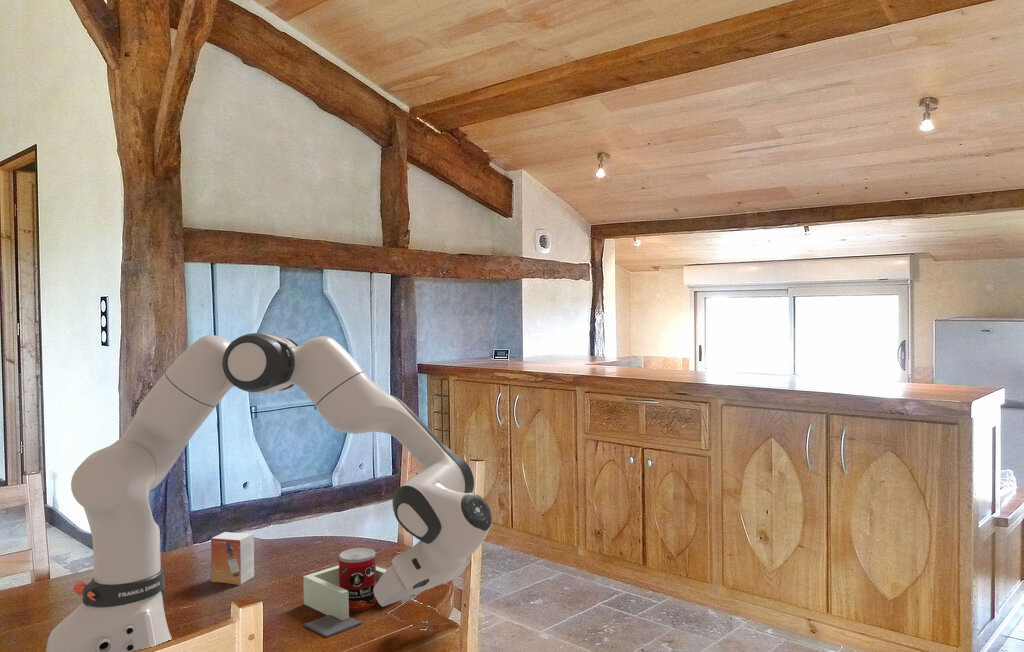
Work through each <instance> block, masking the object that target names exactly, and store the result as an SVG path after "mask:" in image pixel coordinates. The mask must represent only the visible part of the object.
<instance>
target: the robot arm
mask: <svg viewBox="0 0 1024 652" xmlns="http://www.w3.org/2000/svg"><path fill="white" fill-rule="evenodd" d="M294 386H296V387H298V388H299V389H300V390H302V391H303V393H305V395H307V397H308V399H309V400H310V401H311V402H312V404H313V405H314V407H315V408H316V409H317V411H318V413H319V414H320V415H321V416H322V417H323V419H324V421H326V422H327V424H329V425H330V427H332V429H335V430H337V431H339V432H342V433H346V434H354V435H355V434H356V435H357V434H365V433H382V434H387V435H390V436H392V438H393V437H394V439H396V440H397V441H398V442H399V443H400V444H401V445H402V446H403V447H404V448H405V449H406V450H407V451H408V452H409V453H410V455H411V456H412V457H413V458H415V460H417V462H418V463H419V464H420V465H421V467H422V469H421V470H420V471H418V472H417V473H416V474H415V475H413V476H412V477H410V478H409V479H408V480H406V481H405V482H404V483H403V484H401V486H400V487H398V488H397V489H396V490H395V492H394V493H393V496H392V497H393V498H392V511H393V515H394V516H395V518H396V521H397V522H398V524H399V525H400V526H401V528H403V530H404V531H406V532H407V533H409V535H410V536H411V535H412V536H413V537H414V538H416V539H417V540H419V541H418V542H417V543H415V544H414V545H412V547H410V548H407V549H406V550H404V551H402V552H401V553H399V554H397V555H395V556H394V557H393V558H392V560H391V563H392V565H391V566H390V567H389V568H387V569H385V570H386V572H385V573H384V574H383V575H382V577H381V578H380V579H379V581H378V582H377V584H376V585H375V587H374V589H373V592H374V595H375V597H376V601H377V603H378V604H379V605H380V606H381V607H386V606H388V605H392V603H393V604H395V603H398V602H399V601H401V603H406V602H408V601H411V600H413V599H415V598H416V597H417V596H418V595H420V594H421V593H422V592H424V591H427V590H429V589H432V588H435V587H437V586H440V585H444V584H447V583H449V582H450V581H452V580H455V579H457V578H458V577H460V576H461V575H462V573H463V572H464V571H465V570H466V568H467V566H468V565H469V563H470V561H471V560H470V558H469V557H472V555H473V554H474V553H475V552H476V551H477V549H478V548H479V547H480V546H481V544H482V543H483V542H484V540H485V539H486V538H487V536H488V533H489V531H490V530H491V526H492V522H493V519H492V517H493V515H492V511H491V508H490V506H489V503H487V501H486V500H485V499H484V498H483V497H482V496H481V495H479V494H477V493H475V492H474V487H475V480H474V479H475V478H474V473H473V471H472V468H471V467H470V465H469V464H468V463H467V461H466V460H465V459H464V458H462V457H461V456H460V455H458V454H457V453H456V452H454V451H453V450H452V449H450V448H449V447H448V446H447V445H445V444H444V443H443V442H442V440H440V438H438V436H437V435H436V434H435V433H434V432H433V431H432V430H431V429H430V428H429V427H428V426H427V425H426V424H425V423H424V422H423V421H422V419H420V418H419V416H418V415H417V414H416V413H415V412H414V411H413V410H412V409H411V408H410V407H409V406H408V405H406V404H405V402H403V401H402V400H401V399H400V398H398V397H397V396H395V395H392V394H389V393H388V392H386V391H384V390H383V389H382V388H381V387H379V386H378V385H377V384H376V383H375V382H374V381H373V380H372V379H371V378H370V377H369V376H368V374H367V373H366V372H365V370H364V369H363V368H362V366H361V365H360V364H359V363H358V362H357V361H356V359H355V358H354V357H353V356H352V355H351V354H350V353H349V352H348V350H346V349H345V348H344V347H343V346H342V345H341V344H340V343H339V342H338V341H337V340H335V338H332V337H330V336H326V335H321V336H320V335H319V336H316V337H313V338H309V339H308V340H307V341H305V342H303V343H301V344H300V345H298V343H297V342H295V341H294V340H293V339H290V338H287V337H284V336H281V335H277V334H274V333H259V332H257V333H256V332H255V333H254V332H253V333H247V334H244V335H240V336H238V337H237V338H235V339H234V340H232V342H231V341H230V340H228V339H227V338H225V337H222V336H219V335H214V334H213V335H212V334H206V335H204V336H201V337H199V338H198V339H197V340H196V341H194V342H192V344H191V345H189V347H187V348H186V349H185V350H184V351H183V352H182V353H181V354H180V355H179V356H178V357H177V358H176V359H175V360H174V361H173V363H171V365H170V366H169V367H168V368H167V369H166V371H165V372H164V373H163V374H162V376H161V377H160V378H159V379H158V381H157V382H156V383H155V384H154V386H152V388H151V389H150V391H149V392H148V393H147V395H145V397H144V398H143V399H142V400H141V401H140V403H139V404H138V407H137V411H136V413H135V415H134V417H133V418H132V420H131V423H130V424H129V426H128V427H127V429H126V430H125V432H124V433H123V434H122V436H121V437H119V438H118V439H117V440H116V441H115V442H113V443H112V444H110V445H108V446H106V447H103V448H101V449H99V450H97V451H96V450H95V451H94V452H93V453H91V454H90V455H88V456H87V457H86V458H85V459H83V461H82V462H81V463H80V464H79V466H78V467H77V468H76V469H75V471H74V472H73V474H72V477H71V481H70V488H71V494H72V495H73V497H74V500H75V501H76V502H77V503H78V504H79V505H80V506H81V507H83V510H84V512H85V516H86V519H87V522H88V526H89V528H90V532H91V533H90V534H91V540H92V555H93V556H92V557H93V578H92V579H91V580H90V582H89V583H87V584H86V583H85V582H83V581H77V582H75V584H74V585H73V588H72V589H73V592H74V593H76V594H77V595H79V596H81V597H82V603H81V604H80V605H78V606H77V607H76V608H75V609H74V610H72V612H71V613H69V615H68V616H67V617H66V618H64V619H63V620H62V621H61V622H60V623H59V624H57V625H56V626H55V627H54V628H53V629H52V630H51V632H50V633H49V635H48V639H47V642H46V649H45V652H132V651H134V650H138V649H144V648H149V647H154V646H156V645H158V644H161V643H163V642H166V641H168V640H171V639H172V640H173V638H172V635H171V633H170V631H169V627H168V622H167V617H166V614H165V609H164V608H165V607H164V600H163V599H164V598H163V597H164V596H165V575H164V569H163V567H162V566H161V565H162V564H161V563H162V562H161V532H160V531H161V529H160V527H159V525H158V524H157V522H156V521H155V519H154V516H153V513H152V512H153V511H152V510H151V506H150V501H149V495H150V491H151V490H153V489H155V488H156V487H158V486H159V485H160V484H161V483H162V481H163V480H164V479H165V478H166V476H167V475H168V474H169V472H171V469H172V468H173V466H174V465H175V463H176V462H177V460H178V459H179V457H180V456H181V454H182V453H183V451H184V450H185V448H186V446H187V445H188V443H189V441H190V440H191V438H193V436H194V434H196V432H197V431H198V429H200V427H201V425H203V423H204V422H205V421H206V419H207V418H208V417H209V416H210V414H212V412H213V411H214V410H215V408H216V407H217V405H218V404H219V403H220V402H221V401H222V399H223V398H224V396H226V394H227V393H228V392H229V391H230V390H231V389H232V388H233V387H235V388H238V389H239V390H241V391H244V392H248V393H259V394H269V393H270V394H271V393H275V392H277V391H280V392H281V391H285V390H288V389H290V388H292V387H294ZM397 601H398V602H397ZM394 602H395V603H394Z"/></svg>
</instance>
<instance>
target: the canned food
mask: <svg viewBox="0 0 1024 652" xmlns="http://www.w3.org/2000/svg"><path fill="white" fill-rule="evenodd" d="M376 559H377V558H376V551H375V550H374V549H372V548H367V547H353V548H350V549H346V550H344V551H342V552H341V553H339V556H338V565H339V587H341V588H343V589H345V590H348V592H349V612H362V611H365V610H369V609H370V608H372V607H374V606H375V604H376V601H377V599H376V597H375V595H374V592H373V589H374V587H375V585H376V566H377V564H376V562H377V561H376Z"/></svg>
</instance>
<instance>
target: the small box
mask: <svg viewBox="0 0 1024 652" xmlns="http://www.w3.org/2000/svg"><path fill="white" fill-rule="evenodd" d="M254 535H255V534H254V533H252V532H251V533H246V532H245V533H243V532H242V533H241V532H229V531H224V532H221V533H220V534H217V535H215V536H213V537H211V538H210V551H211V552H210V553H211V554H210V557H211V558H210V562H211V563H210V564H211V565H210V568H211V569H210V574H211V575H210V576H211V583H221V584H222V583H223V584H231V585H238V586H241V585H243V584H244V583H246V582H248V581H249V580H251V579H253V578H254V577H255V542H254V541H255V536H254Z"/></svg>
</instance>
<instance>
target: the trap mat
mask: <svg viewBox="0 0 1024 652" xmlns="http://www.w3.org/2000/svg"><path fill="white" fill-rule="evenodd" d="M360 625H362V621H360V620H358V619H356V618H354V617H351V616H349V618H348V619H346V620H340V619H338V618H336V617H334V616H332V615H325V616H323V617H320V618H317V619H315V620H312V621H310V622H306V623H304V625H303V626H304V627H305V628H308V629H310V630H311V631H313V632H315V633H317V634H319V635H321V636H323V637H324V638H326V639H327V638H330V637H332V636H335V635H337V634H340V633H343V632H344V631H345V632H346V631H347V630H350V629H353V628H355V627H357V626H360Z"/></svg>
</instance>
